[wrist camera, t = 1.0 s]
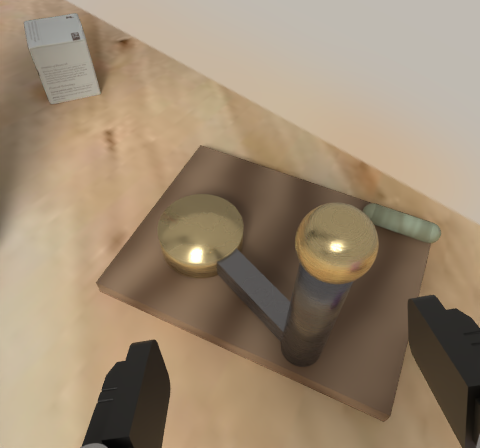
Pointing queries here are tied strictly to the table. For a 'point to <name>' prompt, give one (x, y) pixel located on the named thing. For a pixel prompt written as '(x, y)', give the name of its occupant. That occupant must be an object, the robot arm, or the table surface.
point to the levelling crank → (256, 284)
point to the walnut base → (283, 280)
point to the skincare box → (62, 58)
